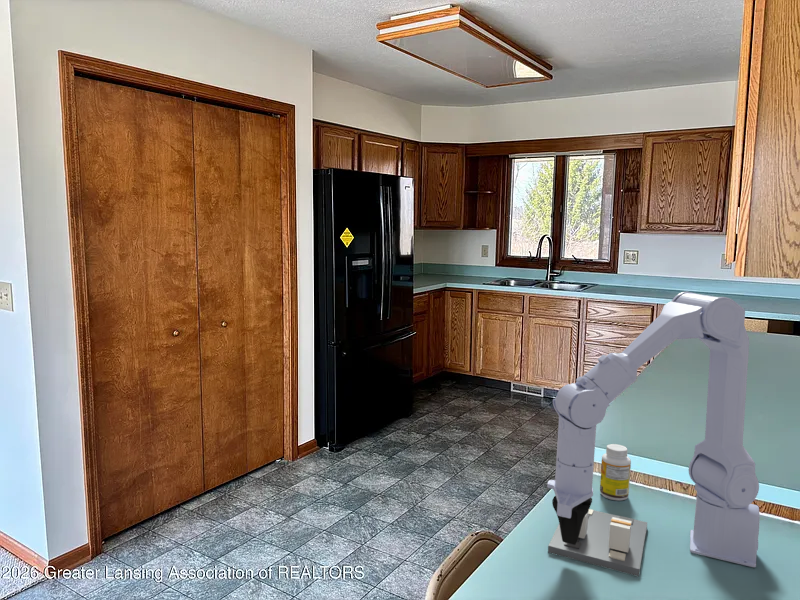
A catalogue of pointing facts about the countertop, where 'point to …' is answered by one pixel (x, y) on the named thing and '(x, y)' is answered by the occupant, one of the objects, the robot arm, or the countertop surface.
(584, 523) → the toggle
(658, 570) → the countertop surface
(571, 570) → the countertop surface
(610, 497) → the supplement bottle
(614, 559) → the switch unit
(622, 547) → the toggle
